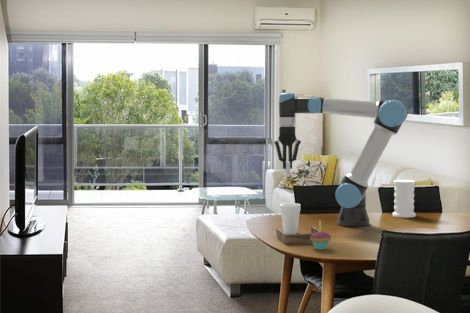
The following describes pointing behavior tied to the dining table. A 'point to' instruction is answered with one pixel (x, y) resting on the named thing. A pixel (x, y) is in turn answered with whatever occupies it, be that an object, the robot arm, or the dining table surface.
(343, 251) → the dining table surface
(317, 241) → the cupcake
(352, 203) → the robot arm
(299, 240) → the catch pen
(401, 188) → the decorative container
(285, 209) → the foam cup
